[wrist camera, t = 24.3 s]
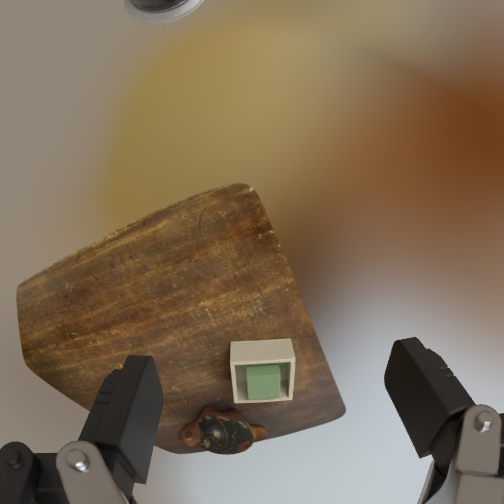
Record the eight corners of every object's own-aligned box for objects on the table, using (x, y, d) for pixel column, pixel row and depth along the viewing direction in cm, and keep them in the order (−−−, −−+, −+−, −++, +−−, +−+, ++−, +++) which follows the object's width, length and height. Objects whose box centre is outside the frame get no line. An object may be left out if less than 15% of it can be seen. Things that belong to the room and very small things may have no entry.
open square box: (230, 341, 43) (229, 362, 38) (290, 338, 43) (295, 358, 38) (234, 382, 46) (234, 403, 41) (288, 379, 46) (292, 399, 42)
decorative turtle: (180, 395, 46) (177, 430, 39) (267, 399, 49) (275, 433, 41) (180, 428, 49) (178, 460, 42) (258, 431, 52) (264, 463, 44)
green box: (245, 353, 43) (246, 376, 38) (276, 351, 43) (280, 374, 38) (247, 376, 44) (248, 400, 40) (276, 375, 45) (279, 398, 40)
